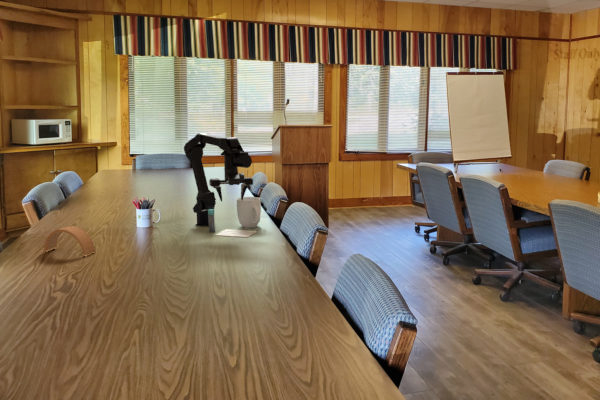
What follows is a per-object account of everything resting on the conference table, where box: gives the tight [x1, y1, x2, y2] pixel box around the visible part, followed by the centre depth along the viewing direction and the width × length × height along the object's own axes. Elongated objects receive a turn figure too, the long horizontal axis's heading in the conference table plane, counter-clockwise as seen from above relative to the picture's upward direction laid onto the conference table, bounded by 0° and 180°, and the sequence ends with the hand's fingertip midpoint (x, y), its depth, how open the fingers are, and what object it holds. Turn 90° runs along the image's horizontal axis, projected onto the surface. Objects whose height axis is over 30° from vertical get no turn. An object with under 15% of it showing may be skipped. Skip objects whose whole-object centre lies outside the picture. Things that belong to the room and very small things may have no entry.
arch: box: [43, 225, 96, 255], centre depth 210 cm, size 6×20×10 cm, turn 69°
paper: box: [215, 228, 258, 238], centre depth 238 cm, size 15×11×1 cm
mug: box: [236, 196, 262, 229], centre depth 250 cm, size 15×11×13 cm
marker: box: [208, 208, 216, 233], centre depth 242 cm, size 3×3×10 cm
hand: (231, 200), depth 244 cm, fingers open, 9 cm apart
